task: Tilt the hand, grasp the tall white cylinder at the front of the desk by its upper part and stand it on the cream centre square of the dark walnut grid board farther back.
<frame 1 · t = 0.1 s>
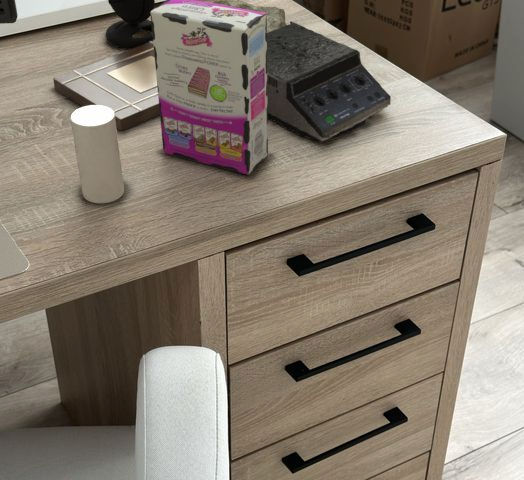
hand: (11, 3, 90), 19 cm above the table, tool pointing down, fingers open, 8 cm apart
webcam: (134, 39, 129), on the table
white cylinder: (103, 192, 101), on the table
rock: (238, 45, 127), on the table
electronic device: (305, 105, 115), on the table
candy bar box: (215, 156, 106), on the table
grid board: (147, 85, 118), on the table
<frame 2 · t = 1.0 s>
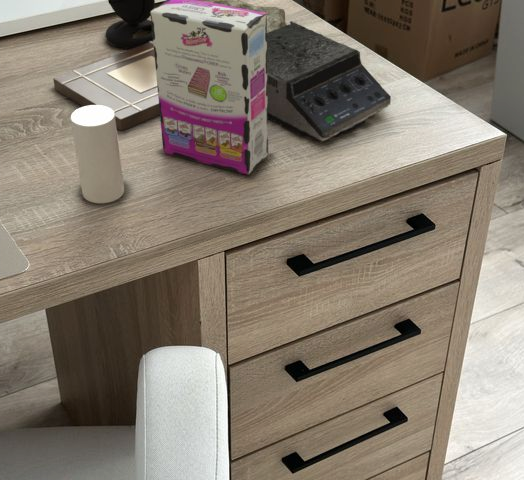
nothing on the table moved.
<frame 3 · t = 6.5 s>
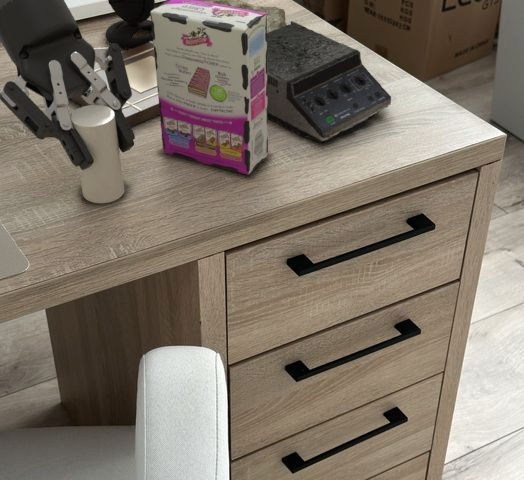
hand: (108, 156, 96), 5 cm above the table, tool tilted 45°, fingers closed on white cylinder, 4 cm apart
white cylinder: (103, 191, 101), on the table, touching gripper
everything else where it was.
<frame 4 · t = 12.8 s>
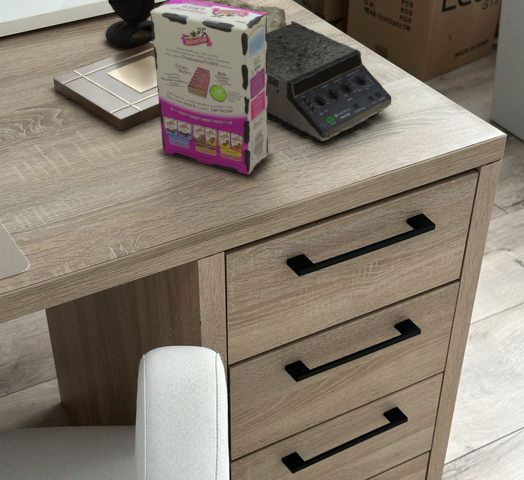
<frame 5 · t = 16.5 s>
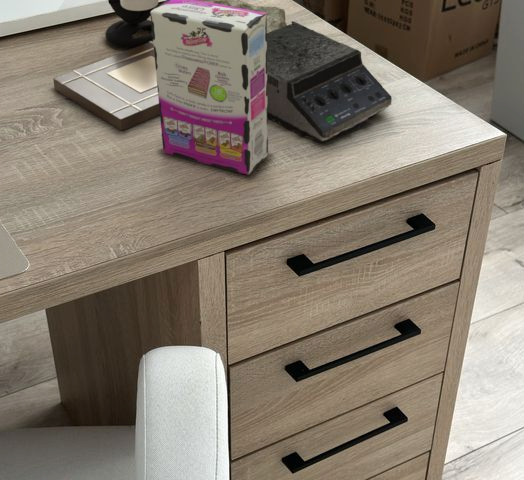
white cylinder: (139, 3, 111), point 10 cm above the table, touching gripper
everything else where it was.
when the fingers open (7 cm above the table, at t = 19.3 s): white cylinder stays where it is, resting on grid board.
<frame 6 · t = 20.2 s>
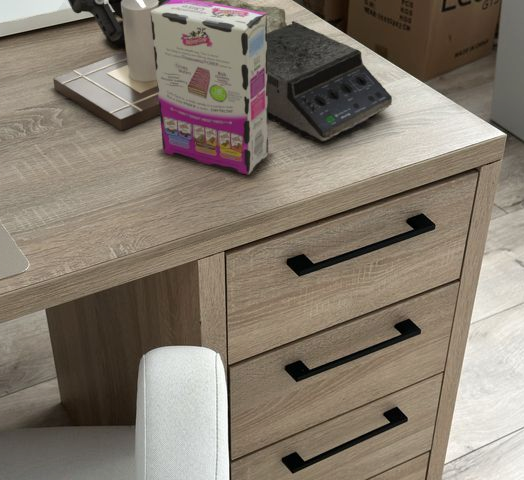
hand: (147, 26, 112), 8 cm above the table, tool tilted 45°, fingers open, 8 cm apart
white cylinder: (146, 73, 117), point 2 cm above the table, touching grid board
everything else where it was.
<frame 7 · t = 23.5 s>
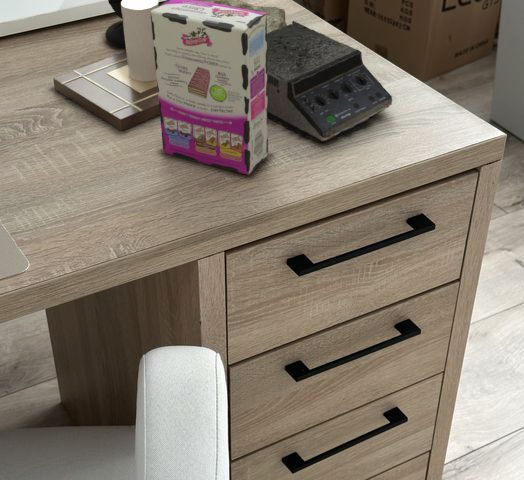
nothing on the table moved.
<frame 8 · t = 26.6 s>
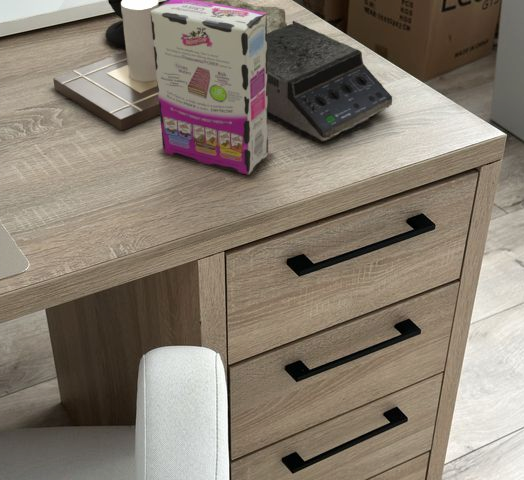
nothing on the table moved.
at the end: white cylinder 0.1 cm off-centre on the grid board, point 1.6 cm above the grid board's base; white cylinder tilted 0°; the gripper is holding nothing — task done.
